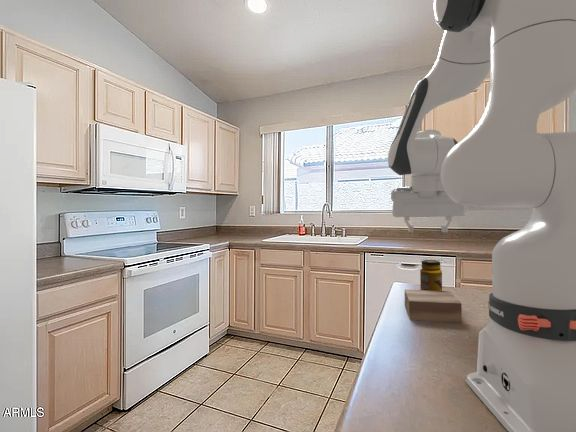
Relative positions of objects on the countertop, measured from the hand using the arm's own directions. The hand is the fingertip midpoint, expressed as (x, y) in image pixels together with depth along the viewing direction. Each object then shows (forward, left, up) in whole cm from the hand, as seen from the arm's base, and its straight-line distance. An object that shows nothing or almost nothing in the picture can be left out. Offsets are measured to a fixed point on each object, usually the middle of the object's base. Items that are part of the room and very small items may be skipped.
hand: (427, 231), depth 99 cm
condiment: (0, 0, -21) cm, 21 cm away
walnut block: (-13, +1, -21) cm, 25 cm away
